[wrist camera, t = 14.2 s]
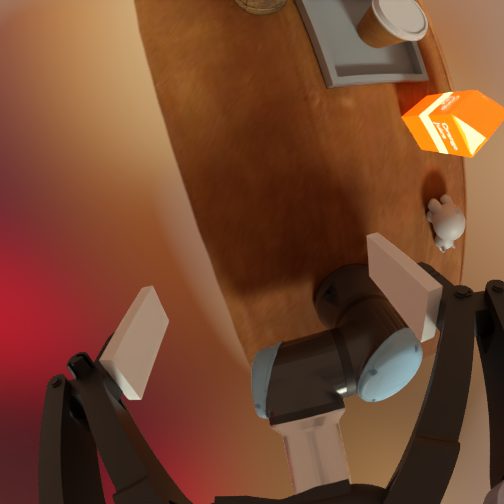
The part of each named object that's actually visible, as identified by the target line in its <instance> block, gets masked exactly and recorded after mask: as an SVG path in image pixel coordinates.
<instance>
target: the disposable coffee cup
mask: <svg viewBox="0 0 504 504" xmlns="http://www.w3.org/2000/svg"><path fill="white" fill-rule="evenodd" d="M427 28H428V23H427V18H426V16H425V14H424V12H423V10H422V9H421V8H420V6H419V5H418V4H417V3H416V2H415V1H414V0H372V4H371V5H370V7H369V8H368V10H367V11H366V13H365V14H364V16H363V17H362V19H361V20H360V22H359V24H358V25H357V33H358V35H359V37H360V39H361V40H362V41H363V42H364V43H365V44H367V45H368V46H370V47H373V48H383V47H386V46H390V45H394V44H397V43H401V42H404V41H408V40H409V41H417V40H420V39H422V38H423V37H424V35H425V33H426V31H427Z"/></svg>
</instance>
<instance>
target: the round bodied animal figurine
mask: <svg viewBox="0 0 504 504" xmlns="http://www.w3.org/2000/svg"><path fill="white" fill-rule="evenodd" d="M440 203H441V204H442V205H441V204H440ZM440 203H439V201H438V200H436V199H431V200H430V201H429V203H428V208H429V209H430V210H429V211H428V213H427V215H426V217H427V219H428V220H429V221H430V222H431V223H433V228H434V230H435V232H436V237H435V240H434V242H435V244H436V246H437V247H439V249H440V250H441V251H442V252H443V253H444V252H445V251H446V249H448V248H450V247H453V248H455V245H454V243H453V240H456V239H457V238H459V237H460V236H461V235H462V233H463V231H464V228H465V217H464V214H463V212H462V211H461V210H460V208H459V207H457V206H456V205H454V204H453V201H452V199H451V197H450V196H449V195H448V194H444V195H442V196H441V198H440Z"/></svg>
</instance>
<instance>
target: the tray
mask: <svg viewBox="0 0 504 504" xmlns="http://www.w3.org/2000/svg"><path fill="white" fill-rule="evenodd" d="M295 2H296V5H297V7H298V9H299V12H300V14H301V16H302V19H303V21H304V24H305V26H306V29H307V31H308V34H309V37H310V39H311V42H312V45H313V48H314V50H315V53H316V56H317V59H318V62H319V65H320V68H321V71H322V74H323V77H324V81H325V84H326V87H327V88H335V87H343V86H353V85H365V84H380V83H420V82H424V81H429V78H428V75H427V72H426V68H425V65H424V62H423V59H422V56H421V53H420V50H419V47H418V45H417V42H416V41H409V40H408V41H404V42H401V43H397V44H394V45H390V46H386V47H383V48H373V47H370V46H368V45H367V44H365V43H364V42H363V41H362V40H361V39H360V37H359V35H358V33H357V25H358V24H359V22H360V20H361V19H362V17H363V16H364V14H365V13H366V11H367V10H368V8H369V7H370V5H371V4H372V0H295Z"/></svg>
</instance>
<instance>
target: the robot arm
mask: <svg viewBox="0 0 504 504" xmlns="http://www.w3.org/2000/svg"><path fill="white" fill-rule="evenodd" d="M366 236H367V248H368V263H369V266H366V265H362V264H352V265H347V266H344V267H341V268H339V269H337V270H336V271H334V272H333V273H331V274H330V275H329V276H328V277H327V278H326V279H325V280H324V281H323V282H322V284H321V285H320V287H319V289H318V291H317V294H316V298H315V308H316V312H317V314H318V317H319V319H320V321H321V322H322V324H323V325H324V326H325V327H327V328H328V329H329V330H326V331H322V332H319V333H316V334H312V335H309V336H305V337H301V338H298V339H294V340H290V341H286V342H284V341H281V342H279V343H278V344H275V345H272V346H268V347H265V348H262V349H260V350H259V351H258V352H257V353H256V355H255V357H254V360H253V364H252V373H251V384H252V396H253V401H254V403H255V410H256V412H257V414H258V416H260V417H261V418H265V419H267V418H269V421H270V427H271V428H272V429H274V430H275V431H277V432H279V433H280V434H281V435H282V436H283V440H284V444H285V449H286V454H287V459H288V464H289V469H290V474H291V478H292V483H293V488H294V493H295V495H293V496H291V497H288V498H285V499H281V500H277V499H267V498H259V497H251V496H218V497H217V496H216V497H215V503H211V504H440V503H441V500H442V498H443V496H444V493H445V491H446V489H447V486H448V484H449V480H450V478H451V476H452V473H453V470H454V467H455V464H456V461H457V458H458V454H459V451H460V443H459V442H458V439H459V435H460V431H461V427H462V422H463V418H464V414H465V409H466V404H467V398H468V393H469V385H470V379H471V371H472V361H473V350H474V337H475V336H476V339H477V344H478V348H479V353H480V358H481V363H482V368H483V373H484V379H485V386H486V393H487V402H488V411H489V427H490V485H491V490H490V492H489V493H488V494H487V496H486V497H485V500H484V503H483V504H504V282H503V281H501V280H491V281H489V282H487V284H486V288H485V291H481V292H475V293H474V292H473V291H472V290H471V288H468V287H467V286H463V285H456V286H454V285H453V284H452V283H450V282H449V281H448V280H447V279H446V278H445V277H443V276H442V275H440V273H439V272H437V271H435V269H434V268H433V267H431V266H430V265H428V264H425V263H423V262H420V263H415V262H414V261H413V260H412V259H411V258H409V257H408V256H407V255H406V254H404V253H403V252H402V251H401V250H399V249H398V248H397V247H396V246H394V245H393V244H392V243H391V242H389V241H388V240H387V239H386V238H384V237H383V236H382V235H380V234H379V233H374V234H370V235H366ZM389 301H390V302H391V303H390V302H389ZM392 305H393V306H394V307H395V308H394V307H393V306H392ZM396 310H397V311H398V312H397V311H396ZM399 314H400V315H401V316H402V317H401V316H400V315H399ZM403 319H404V320H405V321H404V320H403ZM168 323H169V320H168V318H167V316H166V314H165V311H164V309H163V307H162V305H161V303H160V301H159V298H158V296H157V294H156V292H155V290H154V287H153V286H148V287H144V288H142V289H141V291H140V292H139V294H138V295H137V297H136V299H135V300H134V302H133V304H132V305H131V307H130V308H129V310H128V311H127V313H126V315H125V316H124V318H123V320H122V321H121V323H120V325H119V326H118V328H117V330H116V332H114V333H113V334H112V335H111V336H110V337H109V338H108V339H107V341H106V342H105V345H104V346H103V348H102V350H101V351H100V353H99V355H98V356H97V358H96V360H95V362H94V363H93V361H92V360H91V359H90V357H89V356H88V354H87V353H86V352H80V353H77V354H75V355H74V356H72V357H71V358H70V360H69V361H68V363H67V368H68V369H69V371H70V372H71V373H72V375H73V376H74V377H75V379H73V380H69V381H68V380H67V379H66V377H65V376H64V375H63V374H59V375H56V376H54V377H53V378H51V380H50V381H49V383H48V385H47V390H46V396H45V401H44V408H43V415H42V423H41V432H40V433H41V434H40V444H39V465H38V466H39V468H38V480H39V481H38V485H39V504H106V502H105V498H104V493H103V488H102V482H101V477H100V470H99V464H98V456H97V448H98V451H99V453H100V456H101V458H102V461H103V463H104V465H105V467H106V470H107V472H108V474H109V476H110V478H111V480H112V483H113V485H114V486H115V489H116V493H114V494H113V500H114V503H115V504H193V503H192V502H191V501H189V499H188V498H187V497H186V496H185V495H184V494H183V493H182V492H181V490H180V489H179V487H178V486H177V485H176V484H175V482H174V481H173V480H172V478H171V477H170V476H169V474H168V473H167V471H166V470H165V469H164V467H163V466H162V464H161V463H160V461H159V460H158V459H157V457H156V456H155V454H154V453H153V451H152V449H151V448H150V446H149V445H148V443H147V442H146V440H145V438H144V437H143V435H142V434H141V432H140V430H139V428H138V427H137V425H136V424H135V421H134V420H133V418H132V416H131V414H130V412H129V410H128V409H127V407H126V405H125V403H124V401H123V400H122V399H121V395H122V393H124V394H125V396H126V397H127V398H128V399H129V400H141V399H142V396H143V393H144V390H145V387H146V384H147V381H148V378H149V375H150V372H151V370H152V367H153V364H154V361H155V358H156V355H157V353H158V350H159V347H160V344H161V341H162V339H163V336H164V333H165V331H166V328H167V326H168ZM406 323H407V324H408V325H407V324H406ZM409 327H410V328H411V329H410V328H409ZM436 327H437V328H438V329H439V331H440V332H441V333H440V337H439V341H438V345H437V352H436V356H435V361H434V365H433V369H432V373H431V377H430V381H429V384H428V388H427V391H426V395H425V398H424V401H423V404H422V407H421V410H420V413H419V416H418V419H417V422H416V424H415V427H414V430H413V432H412V435H411V437H410V440H409V442H408V444H407V447H406V449H405V451H404V454H403V456H402V458H401V460H400V462H399V464H398V466H397V468H396V470H395V472H394V474H393V476H392V478H391V479H390V481H389V483H388V485H387V487H386V489H384V488H382V487H379V486H375V485H369V484H352V482H351V477H350V473H349V468H348V463H347V458H346V454H345V449H344V445H343V440H342V436H341V431H340V427H339V423H338V422H339V419H340V418H341V416H342V414H343V413H344V411H345V405H344V401H343V399H344V398H346V397H349V396H352V395H355V394H358V395H359V396H360V397H361V398H362V399H363V400H365V401H368V402H370V401H373V402H376V401H380V400H383V399H386V398H388V397H390V396H392V395H393V394H395V393H396V392H398V391H399V390H400V389H402V388H403V387H404V386H405V385H406V384H407V383H408V382H409V381H410V380H411V378H412V377H413V376H414V375H415V373H416V372H417V370H418V368H419V366H420V363H421V360H422V348H421V345H420V343H419V341H420V342H424V341H426V340H428V339H431V338H433V337H434V335H435V330H436ZM415 335H416V336H417V338H418V339H419V341H418V340H417V338H416V336H415ZM96 446H97V447H96Z"/></svg>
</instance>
